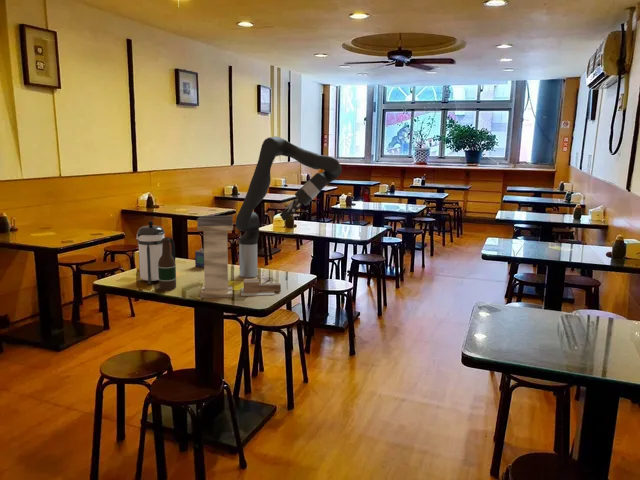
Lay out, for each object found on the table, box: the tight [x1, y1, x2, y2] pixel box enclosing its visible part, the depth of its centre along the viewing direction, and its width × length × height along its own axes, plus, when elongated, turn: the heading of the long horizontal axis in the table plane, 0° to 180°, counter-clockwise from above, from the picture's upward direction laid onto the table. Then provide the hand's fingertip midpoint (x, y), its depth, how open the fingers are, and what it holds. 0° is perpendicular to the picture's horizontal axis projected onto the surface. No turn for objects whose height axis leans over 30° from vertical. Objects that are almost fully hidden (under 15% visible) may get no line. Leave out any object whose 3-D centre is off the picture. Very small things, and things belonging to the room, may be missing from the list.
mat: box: [240, 287, 276, 297], centre depth 229 cm, size 11×15×1 cm
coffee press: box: [135, 220, 176, 286], centre depth 243 cm, size 17×16×30 cm
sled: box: [243, 278, 282, 293], centre depth 230 cm, size 6×17×5 cm, turn 98°
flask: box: [194, 248, 204, 269], centre depth 272 cm, size 9×3×11 cm, turn 63°
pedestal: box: [196, 215, 234, 299], centre depth 223 cm, size 14×15×35 cm
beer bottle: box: [158, 237, 177, 291], centre depth 230 cm, size 8×8×24 cm
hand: (282, 218), depth 225 cm, fingers open, 8 cm apart
